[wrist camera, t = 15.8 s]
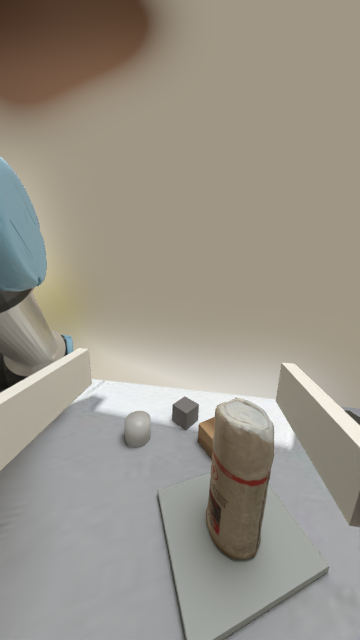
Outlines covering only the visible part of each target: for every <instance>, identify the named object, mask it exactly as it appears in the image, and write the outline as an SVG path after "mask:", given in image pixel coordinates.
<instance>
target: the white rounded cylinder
mask: <svg viewBox="0 0 360 640" xmlns="http://www.w3.org/2000/svg"><path fill="white" fill-rule="evenodd" d="M149 440H150V416H149V414H148V413H146V412H144V411H135V412H132V413H130V414H129V415H128V416H127V417H126V418H125V441H126V443H127V445H128V446H130V447H134V448H137V447H141V446H144V445H145V444H146V443H147V442H148V441H149Z"/></svg>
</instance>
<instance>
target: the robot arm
mask: <svg viewBox="0 0 360 640" xmlns="http://www.w3.org/2000/svg"><path fill="white" fill-rule="evenodd" d="M39 229H40V227H39V222H38V218H37V216H36V213H35V210H34V207H33V205H32V203H31V200H30V198H29V196H28V194H27V192H26V190H25V188H24V186H23V185H22V183H21V181H20V179H19V178H18V176H17V175H16V174H15V172H14V171H13V170H12V168H11V167H10V166H9V164H8V163H7V162H5V160H4V159H2V158H1V157H0V471H1V470H2V469H3V468H4V467H5V466H6V465H7V464H8V463H9V462H10V461H11V460H12V459H13V458H14V457H15V456H16V455H17V454H18V453H19V452H21V451H22V450H23V449H24V448H25V447H26V446H27V445H28V444H29V443H30V442H31V441H32V440H33V439H34V438H35V437H36V436H37V435H38V434H39V433H40V432H42V431H43V430H44V429H45V428H46V427H47V426H48V425H49V424H50V423H51V422H52V421H53V420H54V419H55V418H56V417H57V416H58V415H59V414H60V413H62V412H63V411H64V410H65V409H66V408H67V407H68V406H69V405H70V404H71V403H72V402H73V401H74V400H75V399H76V398H77V397H78V396H79V395H80V394H82V393H83V392H84V391H85V390H86V389H87V388H88V387H89V386H90V385H91V384H92V381H91V369H90V357H89V349H81V348H78V349H77V350H75V351H73V341H72V337H71V336H69V335H61V336H60V335H59V334H58V333H57V332H55V331H53V330H51V329H50V328H49V326H48V324H47V322H46V320H45V318H44V316H43V313H42V311H41V309H40V307H39V306H38V303H37V302H36V299H35V297H34V295H33V293H32V291H33V289H34V287H35V286H39V285H40V284H41V283H42V282H43V281H44V279H45V275H46V269H47V261H46V252H45V245H44V241H43V237H42V235H41V233H40V230H39ZM276 402H277V404H278V405H279V407H280V409H281V411H282V412H283V414H284V416H285V417H286V419H287V421H288V422H289V424H290V426H291V427H292V429H293V431H294V433H295V434H296V436H297V438H298V439H299V441H300V443H301V444H302V446H303V448H304V449H305V451H306V453H307V455H308V456H309V458H310V460H311V461H312V463H313V465H314V466H315V468H316V470H317V472H318V473H319V475H320V477H321V478H322V480H323V482H324V483H325V485H326V487H327V488H328V490H329V492H330V494H331V495H332V497H333V499H334V500H335V502H336V504H337V505H338V507H339V509H340V511H341V512H342V514H343V516H344V517H345V519H346V521H347V522H348V524H349V526H356V527H360V417H358V416H357V415H355V414H353V413H352V412H350V411H345V410H343V409H342V408H341V407H340V406H339V405H337V404H336V403H335V402H334V401H333V400H332V399H331V398H330V397H329V396H328V395H327V394H326V393H325V392H324V391H323V390H322V389H321V388H319V387H318V386H317V385H316V384H315V383H314V382H313V381H312V380H311V379H310V378H309V377H308V376H307V375H306V374H305V373H304V372H302V371H301V370H300V369H299V368H298V367H297V366H296V365H295V364H291V363H282V364H281V370H280V377H279V383H278V390H277V396H276Z"/></svg>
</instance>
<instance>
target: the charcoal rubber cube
mask: <svg viewBox="0 0 360 640" xmlns="http://www.w3.org/2000/svg"><path fill="white" fill-rule="evenodd" d="M198 409H199V404H197V403H195V402H194V401H192V400H190V399H188V398H187V397H183V398H182V399H180V400H179V401H177V402H176V403H174V404H173V413H172V420H173V421H174V422H175V423H177V424H178V425H180V426H181V427H182V428H184V429H185V430H187V429H188V428H189V427H190V426H192V425H193V424H194V423H195V422H196V421H197V420H198Z"/></svg>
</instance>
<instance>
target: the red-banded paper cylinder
mask: <svg viewBox="0 0 360 640" xmlns="http://www.w3.org/2000/svg"><path fill="white" fill-rule="evenodd" d="M273 458H274V425H273V423H272V422H271V420H270V419H269V418H268V416H267V414H266V412H265V411H264V410H263V409H262V408H260V407H259V406H257V405H255V404H253V403H251V402H249V401H247V400H244V399H240V398H235V399H233V400H231V401H229V402H224V403H222V404H219V405H218V406H217V408H216V409H215V430H214V436H213V455H212V465H211V478H210V489H209V499H208V500H209V501H208V507H207V510H206V521H207V525H208V528H209V531H210V534H211V537H212V540H213V541H214V543H215V544H216V546H217V547H218V548H219V549H220V550H221V551H222V552H224V553H225V554H227V555H228V556H230V557H231V558H234V559H250V558H251V557H255V555H256V553H257V551H258V549H259V546H260V543H261V536H260V534H261V526H262V521H263V516H264V509H265V504H266V497H267V489H268V482H269V479H270V470H271V466H272V463H273Z"/></svg>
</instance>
